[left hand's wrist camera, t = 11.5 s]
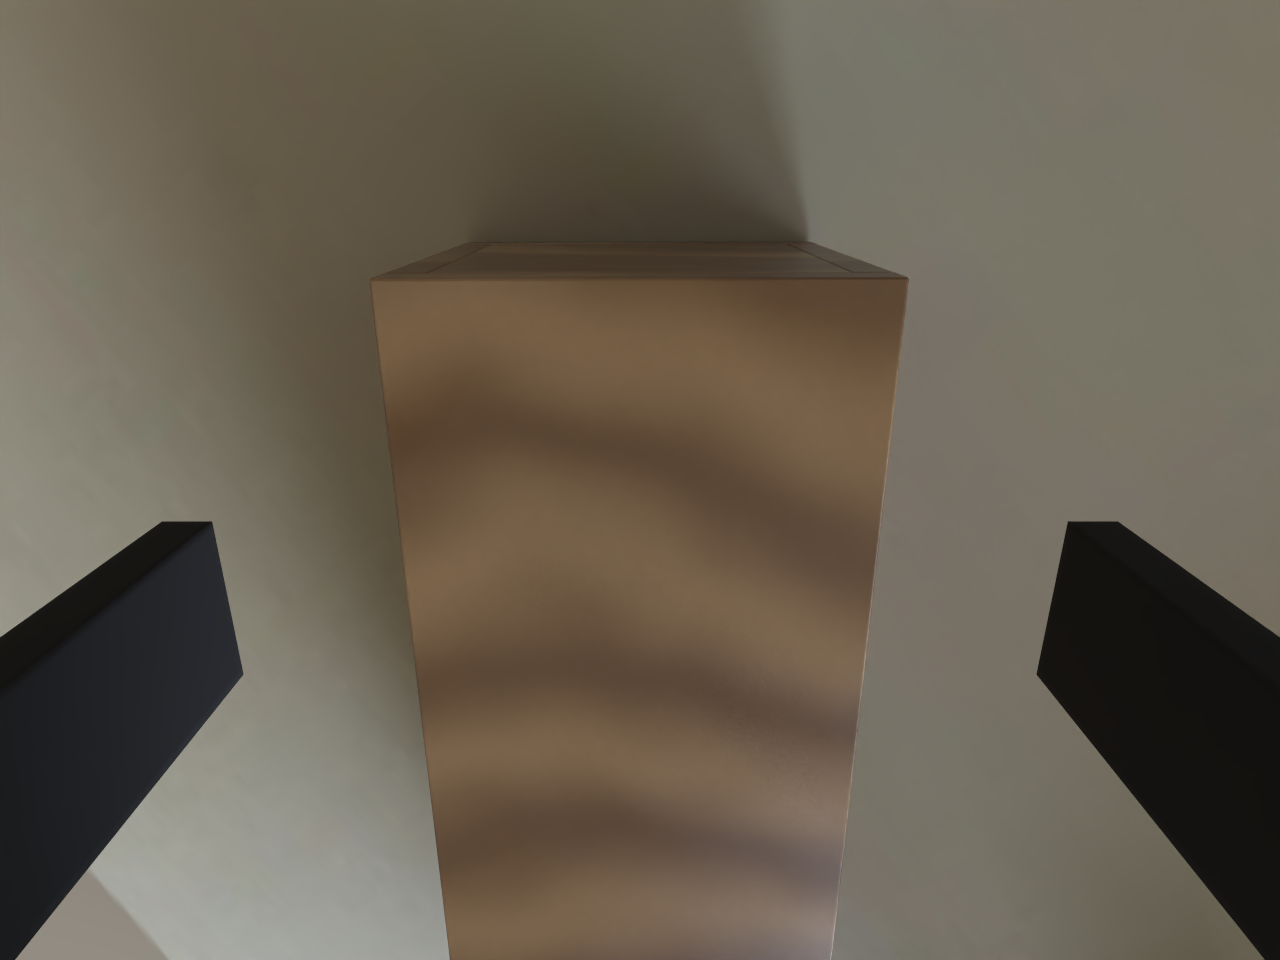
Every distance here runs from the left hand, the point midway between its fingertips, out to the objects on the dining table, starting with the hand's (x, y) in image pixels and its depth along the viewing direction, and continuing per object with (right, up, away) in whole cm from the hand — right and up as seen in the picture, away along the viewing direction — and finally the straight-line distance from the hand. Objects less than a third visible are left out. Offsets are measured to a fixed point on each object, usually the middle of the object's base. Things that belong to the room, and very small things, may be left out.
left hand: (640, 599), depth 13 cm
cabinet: (0, 0, +16) cm, 16 cm away
